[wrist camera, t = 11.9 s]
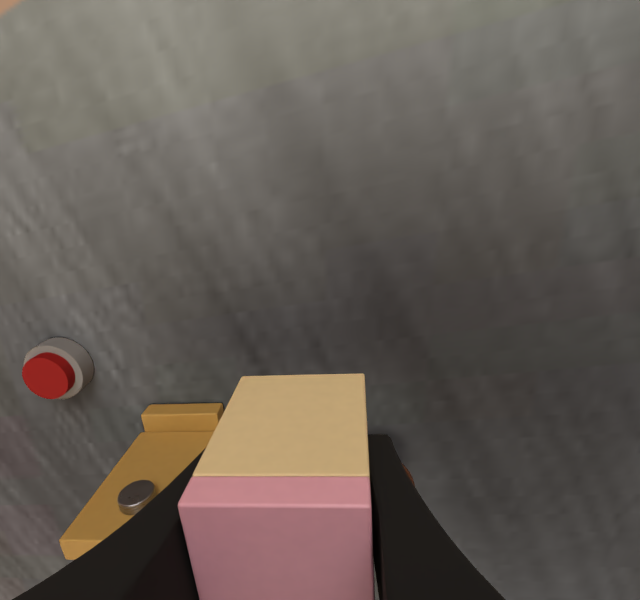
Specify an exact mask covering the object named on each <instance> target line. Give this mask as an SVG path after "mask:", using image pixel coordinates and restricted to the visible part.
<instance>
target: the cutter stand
mask: <svg viewBox="0 0 640 600" xmlns="http://www.w3.org/2000/svg"><path fill="white" fill-rule="evenodd" d="M223 413H224V409H223V404H222V403H198V404H153V405H149V406H148V407H147V408H146V410H145V411H144V412H143V413H142V415H141V418H142V422H143V426H144V430H145V432H142V433H140V434H139V436H138V437H137V438H136V439H135V441H134V442H133V443H132V445H131V446H130V447H129V449H128V450H127V451H126V453H125V454H124V455H123V457H122V458H121V459H120V461H119V462H118V463H117V464H116V466H115V467H114V468H113V470H112V471H111V472H110V474H109V475H108V476H107V478H106V479H105V480H104V482H103V483H102V484H101V486H100V487H99V488H98V490H97V491H96V492H95V493H94V495H93V496H92V497H91V499H90V500H89V501H88V503H87V504H86V505H85V507H84V508H83V509H82V511H81V512H80V513H79V515H78V516H77V517H76V518H75V520H74V521H73V522H72V524H71V525H70V526H69V528H68V529H67V530H66V532H65V533H64V534H63V536H62V537H61V538H60V540H59V543H60V545H61V548H62V551H63V553H64V556H65V559H67V560H76V559H77V558H78V557H80V556H81V555H83V554H84V553H86V552H87V551H89V550H90V549H92V548H93V547H94V546H96V545H97V544H98V543H100V542H101V541H102V540H104V539H105V538H106V537H108V536H109V535H110V534H112V533H113V532H114V531H116V530H117V529H118V528H119V527H121V526H122V525H123V524H124V523H126V522H127V521H128V520H129V519H131V518H132V517H133V516H134V515H135V514H136V513H138V512H139V511H140V510H141V509H142V508H143V507H144V506H145V505H147V504H148V503H149V502H150V501H151V500H152V499H153V498H154V497H156V496H157V495H158V494H159V493H160V492H161V491H162V490H163V489H164V488H166V487H167V486H168V485H169V484H170V483H171V482H172V481H173V480H174V479H175V478H176V477H177V476H178V475H179V474H180V473H181V472H182V471H183V470H184V469H185V468H186V467H187V466H188V465H189V464H190V463H191V462H192V461H193V460H194V459H195V458H196V457H197V456H198V455H199V454H200V453H201V452H202V451H203V450H204V449H205V448H206V447H207V445H208V443H209V441H210V439H211V437H212V435H213V433H214V431H215V429H216V427H217V425H218V423H219V421H220V419H221V417H222V415H223Z"/></svg>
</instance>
